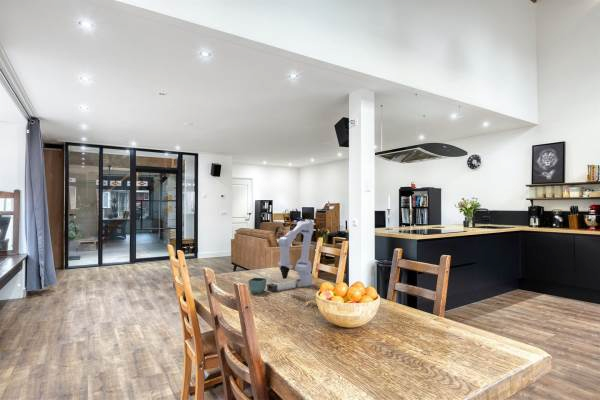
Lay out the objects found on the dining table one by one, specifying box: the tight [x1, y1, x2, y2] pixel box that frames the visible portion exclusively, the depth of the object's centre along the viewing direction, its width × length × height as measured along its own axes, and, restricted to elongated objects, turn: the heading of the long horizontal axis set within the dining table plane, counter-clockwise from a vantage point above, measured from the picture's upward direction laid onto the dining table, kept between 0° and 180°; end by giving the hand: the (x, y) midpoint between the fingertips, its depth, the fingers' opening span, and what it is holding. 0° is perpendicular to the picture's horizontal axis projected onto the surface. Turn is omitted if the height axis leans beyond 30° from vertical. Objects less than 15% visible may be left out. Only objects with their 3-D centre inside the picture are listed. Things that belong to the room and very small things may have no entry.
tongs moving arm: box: [269, 281, 296, 293], centre depth 214 cm, size 18×2×4 cm, turn 127°
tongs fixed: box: [266, 278, 304, 292], centre depth 217 cm, size 24×5×5 cm, turn 124°
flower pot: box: [248, 277, 267, 294], centre depth 208 cm, size 9×9×9 cm
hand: (284, 278), depth 208 cm, fingers closed
